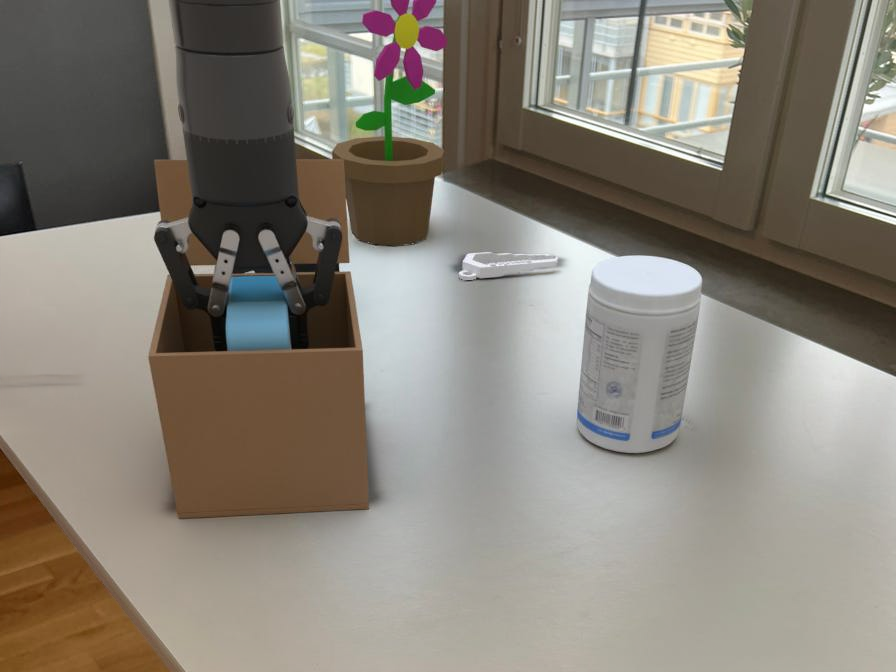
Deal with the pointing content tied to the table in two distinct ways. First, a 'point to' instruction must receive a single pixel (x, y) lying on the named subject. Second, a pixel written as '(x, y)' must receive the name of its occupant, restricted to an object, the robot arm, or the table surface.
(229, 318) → the data package
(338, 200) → the flap
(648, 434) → the supplement tub
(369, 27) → the flowerpot
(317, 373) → the carton
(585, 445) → the table surface
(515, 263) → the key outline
